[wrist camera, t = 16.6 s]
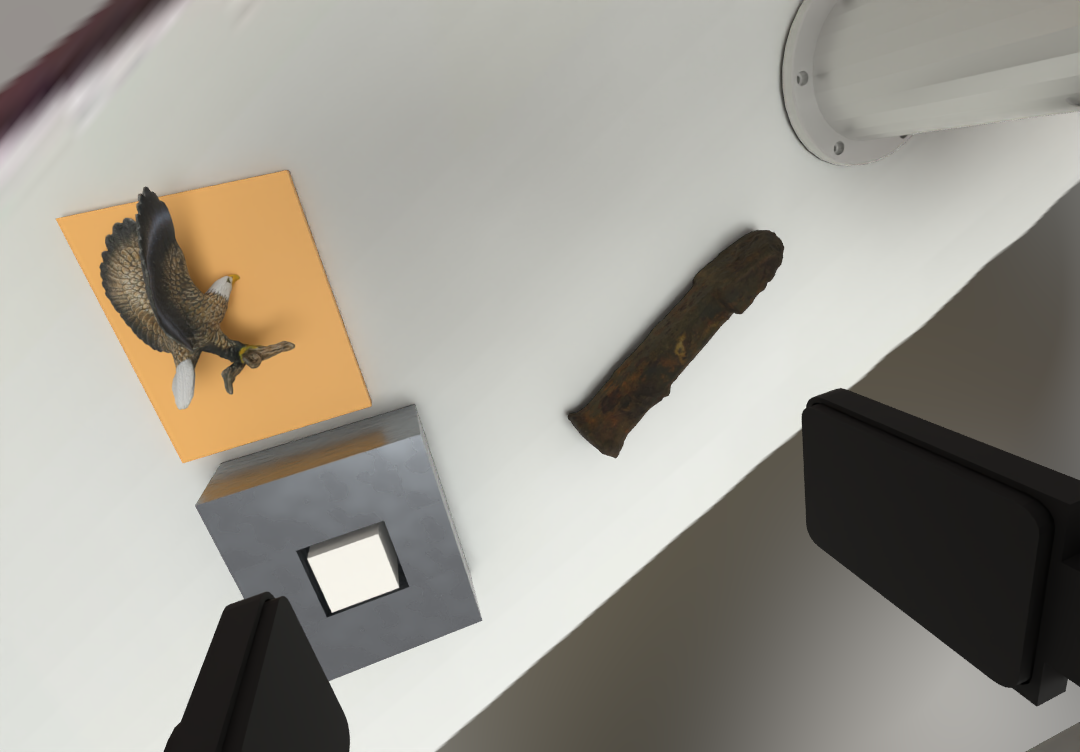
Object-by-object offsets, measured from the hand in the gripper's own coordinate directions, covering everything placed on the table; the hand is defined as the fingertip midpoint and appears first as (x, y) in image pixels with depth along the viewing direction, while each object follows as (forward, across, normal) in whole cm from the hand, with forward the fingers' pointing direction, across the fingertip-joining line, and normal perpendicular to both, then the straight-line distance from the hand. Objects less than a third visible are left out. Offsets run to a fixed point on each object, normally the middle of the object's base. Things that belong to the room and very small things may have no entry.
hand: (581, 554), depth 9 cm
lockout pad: (+26, +11, -2) cm, 29 cm away
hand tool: (+27, -15, +6) cm, 31 cm away
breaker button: (+25, +9, +13) cm, 29 cm away
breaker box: (+26, +9, +13) cm, 31 cm away
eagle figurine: (+26, +12, -4) cm, 29 cm away
